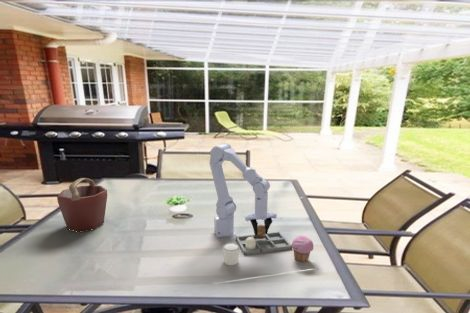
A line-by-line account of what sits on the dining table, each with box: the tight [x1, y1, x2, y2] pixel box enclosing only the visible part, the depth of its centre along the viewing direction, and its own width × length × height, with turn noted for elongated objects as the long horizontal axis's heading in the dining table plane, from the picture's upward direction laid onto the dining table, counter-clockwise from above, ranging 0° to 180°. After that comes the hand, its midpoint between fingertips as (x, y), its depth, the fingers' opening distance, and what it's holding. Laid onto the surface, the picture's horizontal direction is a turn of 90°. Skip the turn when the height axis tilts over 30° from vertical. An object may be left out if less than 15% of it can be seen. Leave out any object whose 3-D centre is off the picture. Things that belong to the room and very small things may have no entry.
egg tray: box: [235, 231, 293, 256], centre depth 141 cm, size 22×15×2 cm
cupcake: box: [291, 235, 314, 263], centre depth 128 cm, size 9×9×10 cm
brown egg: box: [256, 224, 266, 239], centre depth 144 cm, size 4×4×6 cm
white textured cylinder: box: [222, 242, 240, 266], centre depth 126 cm, size 7×7×7 cm
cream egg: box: [246, 237, 256, 251], centre depth 136 cm, size 4×4×6 cm
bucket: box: [56, 177, 108, 233], centre depth 160 cm, size 24×22×25 cm
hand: (260, 233), depth 144 cm, fingers closed on brown egg, 4 cm apart
